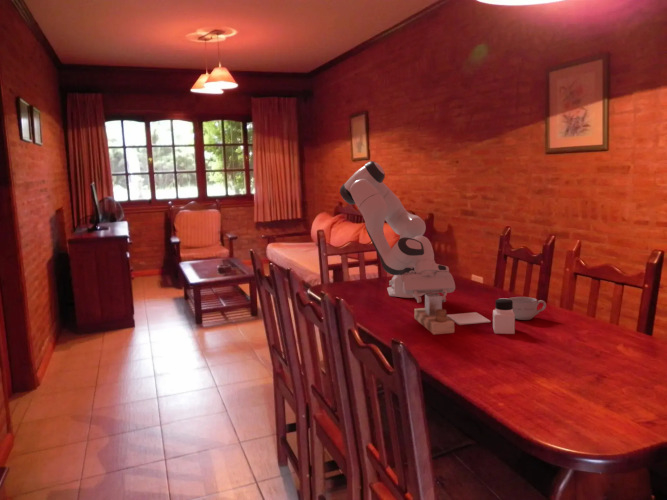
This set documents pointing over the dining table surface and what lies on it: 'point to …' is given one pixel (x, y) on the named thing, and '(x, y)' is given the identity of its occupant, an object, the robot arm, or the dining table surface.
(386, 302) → the dining table surface
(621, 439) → the dining table surface
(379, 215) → the robot arm
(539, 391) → the dining table surface
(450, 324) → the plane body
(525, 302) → the teacup
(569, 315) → the dining table surface
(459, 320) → the off-white pad
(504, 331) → the medicine bottle
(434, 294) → the gray rectangular block
